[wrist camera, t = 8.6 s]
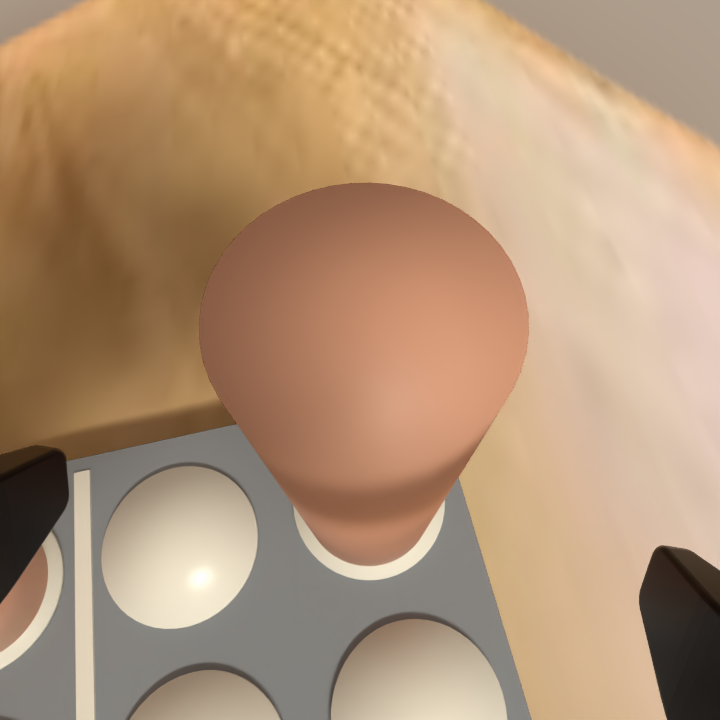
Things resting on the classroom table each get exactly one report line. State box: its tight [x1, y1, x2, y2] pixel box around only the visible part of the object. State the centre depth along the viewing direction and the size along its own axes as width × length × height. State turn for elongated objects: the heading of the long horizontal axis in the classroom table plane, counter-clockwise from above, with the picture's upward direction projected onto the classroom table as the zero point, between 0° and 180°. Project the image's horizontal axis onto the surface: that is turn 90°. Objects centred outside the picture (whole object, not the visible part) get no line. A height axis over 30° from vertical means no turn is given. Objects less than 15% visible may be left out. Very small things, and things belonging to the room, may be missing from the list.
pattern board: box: [0, 424, 532, 720], centre depth 15 cm, size 13×24×6 cm, turn 103°
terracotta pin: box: [199, 183, 529, 566], centre depth 12 cm, size 4×4×12 cm
